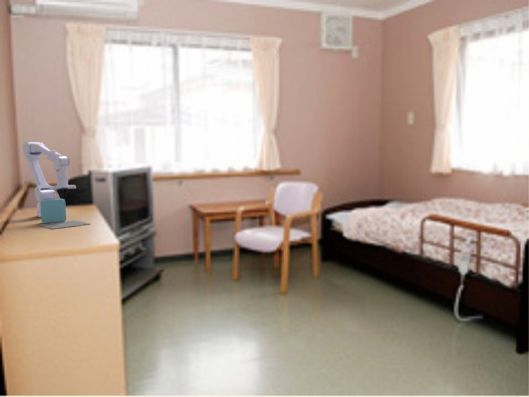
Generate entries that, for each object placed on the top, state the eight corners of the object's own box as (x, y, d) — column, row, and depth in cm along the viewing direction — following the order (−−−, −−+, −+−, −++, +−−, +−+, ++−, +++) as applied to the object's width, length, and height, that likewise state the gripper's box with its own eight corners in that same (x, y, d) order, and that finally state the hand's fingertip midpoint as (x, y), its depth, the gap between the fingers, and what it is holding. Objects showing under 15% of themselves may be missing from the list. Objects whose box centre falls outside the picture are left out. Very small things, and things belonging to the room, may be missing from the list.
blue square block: (66, 220, 253) (65, 198, 252) (66, 221, 248) (64, 199, 247) (42, 222, 248) (40, 200, 247) (41, 223, 244) (40, 200, 243)
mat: (37, 225, 238) (37, 224, 238) (75, 220, 253) (75, 220, 253) (52, 229, 228) (52, 228, 228) (90, 224, 243) (90, 223, 243)
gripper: (52, 179, 250) (53, 204, 251) (78, 177, 261) (79, 201, 262) (46, 178, 254) (47, 202, 256) (71, 177, 265) (72, 200, 267)
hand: (63, 202), depth 259 cm, fingers closed
